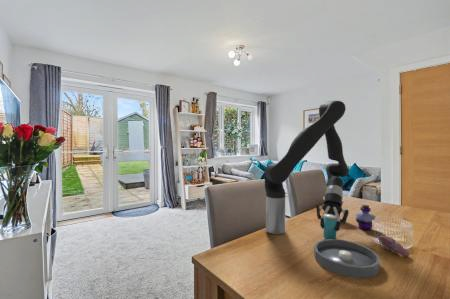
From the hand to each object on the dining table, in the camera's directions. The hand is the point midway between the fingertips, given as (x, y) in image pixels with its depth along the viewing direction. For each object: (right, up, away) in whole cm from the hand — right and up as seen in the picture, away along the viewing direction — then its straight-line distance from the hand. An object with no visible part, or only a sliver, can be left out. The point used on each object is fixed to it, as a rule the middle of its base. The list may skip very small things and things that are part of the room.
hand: (329, 229), depth 98 cm
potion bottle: (+24, -5, +14) cm, 28 cm away
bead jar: (+1, -4, +2) cm, 5 cm away
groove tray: (-2, -6, -16) cm, 17 cm away
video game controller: (+21, -6, -9) cm, 24 cm away
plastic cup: (+15, -5, +28) cm, 32 cm away
